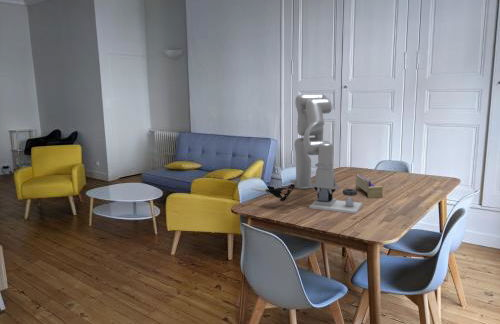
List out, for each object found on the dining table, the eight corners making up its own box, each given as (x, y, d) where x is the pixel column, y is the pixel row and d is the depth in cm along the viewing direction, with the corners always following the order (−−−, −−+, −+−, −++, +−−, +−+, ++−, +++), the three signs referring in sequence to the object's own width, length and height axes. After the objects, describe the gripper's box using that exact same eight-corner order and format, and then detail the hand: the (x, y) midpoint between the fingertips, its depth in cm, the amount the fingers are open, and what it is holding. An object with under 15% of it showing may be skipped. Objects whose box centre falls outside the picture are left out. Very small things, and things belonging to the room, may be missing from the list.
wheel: (341, 195, 197) (341, 191, 196) (344, 191, 203) (344, 188, 202) (355, 196, 194) (355, 192, 193) (357, 193, 199) (358, 189, 199)
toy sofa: (383, 197, 218) (383, 180, 216) (368, 198, 217) (368, 180, 215) (368, 188, 239) (369, 172, 237) (355, 189, 238) (355, 173, 236)
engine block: (318, 201, 203) (318, 189, 202) (321, 199, 209) (322, 186, 207) (327, 202, 201) (328, 190, 200) (331, 199, 206) (331, 187, 205)
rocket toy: (284, 190, 193) (244, 186, 204) (284, 202, 194) (244, 197, 205) (295, 184, 205) (256, 180, 216) (295, 195, 206) (257, 191, 217)
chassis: (309, 208, 201) (309, 197, 200) (318, 200, 215) (318, 190, 214) (356, 213, 190) (356, 202, 189) (362, 205, 204) (362, 194, 203)
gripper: (307, 166, 202) (307, 200, 205) (339, 168, 194) (339, 203, 198) (311, 164, 209) (311, 196, 212) (343, 166, 201) (342, 199, 204)
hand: (324, 199), depth 205 cm, fingers closed on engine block, 4 cm apart
